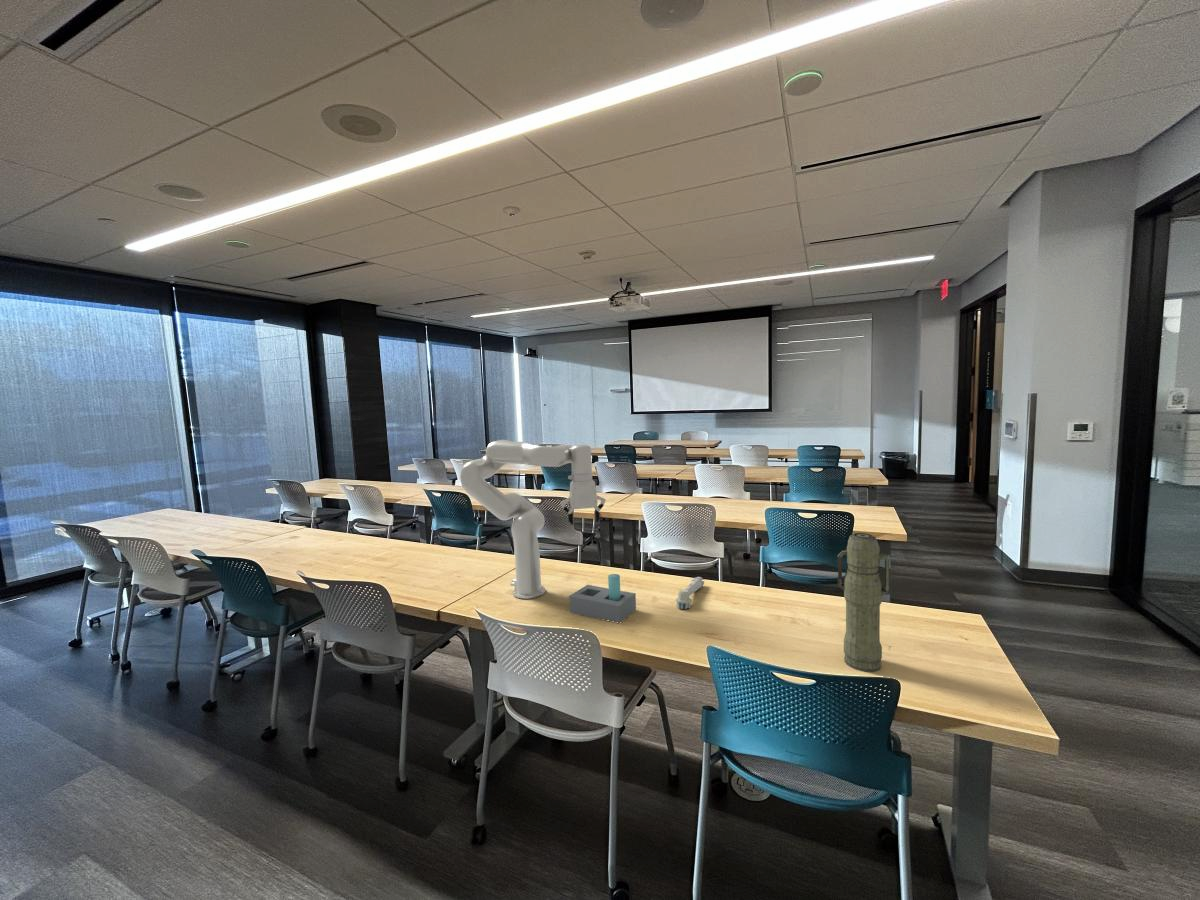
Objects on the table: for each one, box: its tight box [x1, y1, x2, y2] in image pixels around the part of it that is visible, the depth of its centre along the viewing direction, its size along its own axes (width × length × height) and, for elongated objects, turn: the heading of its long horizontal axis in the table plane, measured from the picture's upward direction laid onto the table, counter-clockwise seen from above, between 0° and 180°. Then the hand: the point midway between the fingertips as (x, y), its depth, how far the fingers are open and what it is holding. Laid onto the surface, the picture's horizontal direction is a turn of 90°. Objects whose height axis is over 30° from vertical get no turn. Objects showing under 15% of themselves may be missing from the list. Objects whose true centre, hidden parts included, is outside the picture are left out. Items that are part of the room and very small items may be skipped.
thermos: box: [837, 532, 890, 673], centre depth 128 cm, size 9×12×35 cm
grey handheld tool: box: [675, 576, 705, 610], centre depth 178 cm, size 5×7×25 cm
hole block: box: [568, 584, 637, 624], centre depth 169 cm, size 20×12×6 cm, turn 59°
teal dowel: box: [607, 573, 621, 601], centre depth 166 cm, size 4×4×12 cm
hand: (584, 522), depth 182 cm, fingers open, 9 cm apart
